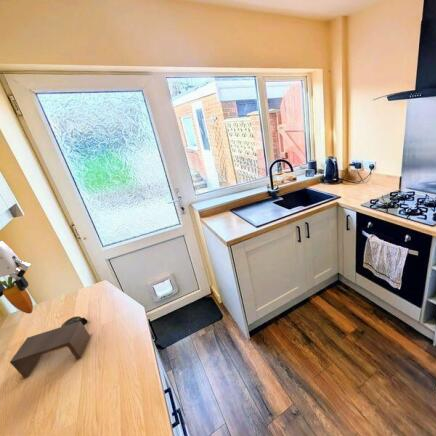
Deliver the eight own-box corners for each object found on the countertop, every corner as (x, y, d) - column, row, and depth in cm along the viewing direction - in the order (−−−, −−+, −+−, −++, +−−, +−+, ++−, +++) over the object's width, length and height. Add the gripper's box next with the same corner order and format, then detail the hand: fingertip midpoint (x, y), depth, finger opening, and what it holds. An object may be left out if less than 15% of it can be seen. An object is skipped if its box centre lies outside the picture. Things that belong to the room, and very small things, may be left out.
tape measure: (71, 337, 94) (66, 331, 93) (60, 333, 97) (56, 326, 95) (89, 323, 100) (85, 317, 98) (79, 320, 102) (75, 313, 101)
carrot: (16, 318, 81) (-12, 282, 75) (33, 306, 86) (8, 272, 79) (27, 319, 80) (-1, 283, 74) (44, 308, 85) (19, 273, 78)
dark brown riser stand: (23, 377, 81) (9, 362, 77) (39, 352, 89) (27, 337, 86) (80, 357, 86) (69, 342, 82) (90, 335, 94) (80, 320, 91)
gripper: (-74, 257, 65) (-30, 308, 73) (7, 240, 71) (40, 289, 78) (-52, 245, 72) (-13, 293, 80) (21, 229, 77) (51, 276, 85)
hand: (13, 290), depth 79 cm, fingers closed on carrot, 4 cm apart
